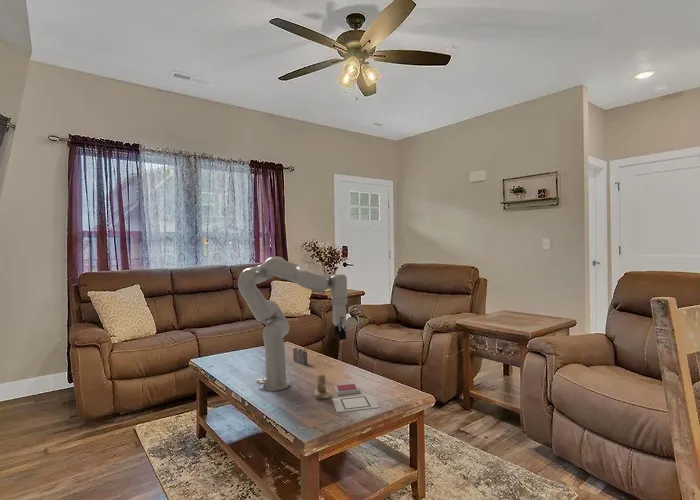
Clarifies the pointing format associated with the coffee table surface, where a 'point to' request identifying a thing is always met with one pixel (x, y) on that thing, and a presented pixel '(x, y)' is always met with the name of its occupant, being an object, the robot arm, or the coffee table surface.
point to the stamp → (321, 388)
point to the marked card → (355, 403)
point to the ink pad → (346, 389)
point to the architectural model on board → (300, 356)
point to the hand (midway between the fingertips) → (340, 336)
